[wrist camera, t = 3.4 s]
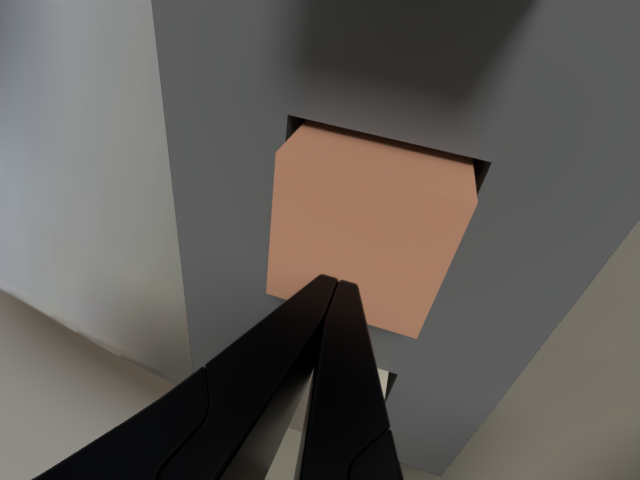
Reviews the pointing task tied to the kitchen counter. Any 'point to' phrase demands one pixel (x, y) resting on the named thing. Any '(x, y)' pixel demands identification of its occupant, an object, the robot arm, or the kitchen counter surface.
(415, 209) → the terracotta button
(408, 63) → the button board
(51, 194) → the kitchen counter surface
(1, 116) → the kitchen counter surface
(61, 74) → the kitchen counter surface
